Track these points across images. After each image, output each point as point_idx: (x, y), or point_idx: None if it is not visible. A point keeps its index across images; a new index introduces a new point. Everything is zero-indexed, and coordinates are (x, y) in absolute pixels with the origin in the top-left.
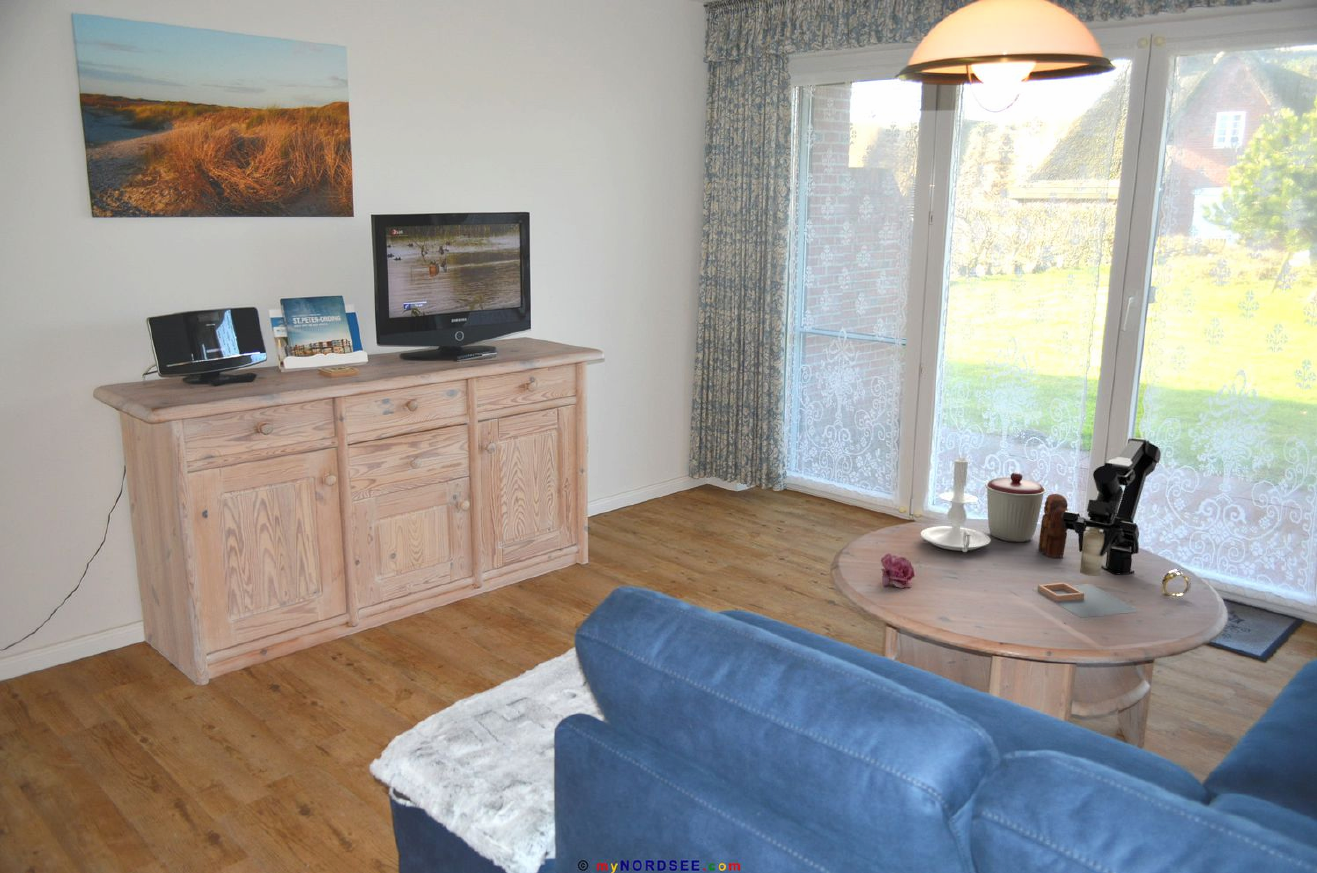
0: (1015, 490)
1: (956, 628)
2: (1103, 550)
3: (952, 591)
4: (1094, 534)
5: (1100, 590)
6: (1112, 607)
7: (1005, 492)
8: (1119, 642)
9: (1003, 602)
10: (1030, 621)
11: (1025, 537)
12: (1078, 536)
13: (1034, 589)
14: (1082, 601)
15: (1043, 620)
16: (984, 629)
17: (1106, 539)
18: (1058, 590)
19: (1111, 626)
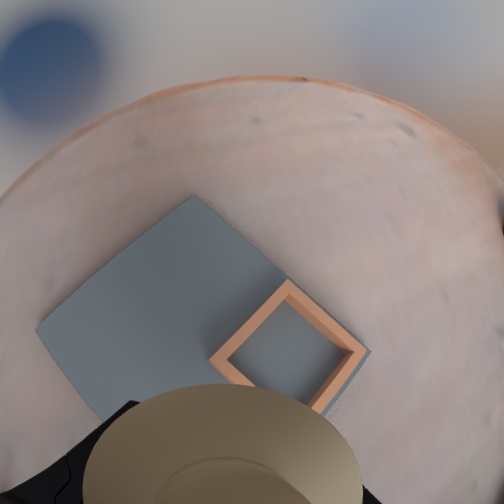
0: None
1: (376, 105)
2: (116, 418)
3: (471, 250)
4: (209, 456)
5: None
6: (111, 322)
7: None
8: (113, 136)
9: (389, 238)
10: (300, 158)
11: None
12: (372, 496)
13: (366, 354)
14: (208, 330)
15: (278, 172)
16: (346, 109)
17: (81, 491)
18: (303, 395)
19: (119, 207)
